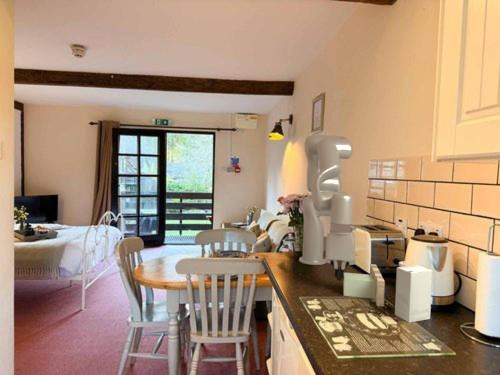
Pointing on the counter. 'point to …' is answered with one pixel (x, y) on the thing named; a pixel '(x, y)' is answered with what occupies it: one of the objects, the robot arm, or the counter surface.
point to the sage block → (359, 285)
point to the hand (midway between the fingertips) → (339, 279)
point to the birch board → (378, 285)
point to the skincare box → (413, 293)
